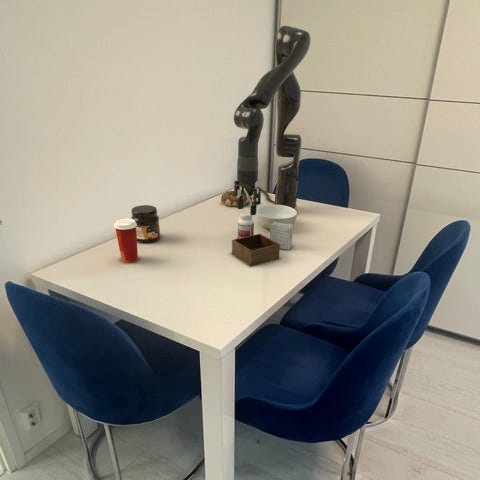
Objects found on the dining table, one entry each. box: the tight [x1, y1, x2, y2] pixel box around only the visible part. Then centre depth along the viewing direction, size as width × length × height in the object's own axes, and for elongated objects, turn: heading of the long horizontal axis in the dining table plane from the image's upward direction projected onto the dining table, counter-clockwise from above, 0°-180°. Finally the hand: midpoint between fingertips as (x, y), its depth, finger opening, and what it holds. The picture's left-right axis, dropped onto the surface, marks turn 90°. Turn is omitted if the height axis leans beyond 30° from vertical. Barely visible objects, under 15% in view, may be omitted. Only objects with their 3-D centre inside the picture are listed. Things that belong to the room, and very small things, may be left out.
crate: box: [231, 233, 281, 267], centre depth 165 cm, size 12×12×6 cm
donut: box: [220, 190, 250, 207], centre depth 218 cm, size 14×14×5 cm
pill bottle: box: [237, 211, 255, 239], centre depth 176 cm, size 6×6×11 cm
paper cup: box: [113, 218, 139, 264], centre depth 159 cm, size 8×8×14 cm
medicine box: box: [268, 222, 294, 251], centre depth 172 cm, size 8×4×9 cm, turn 65°
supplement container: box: [130, 204, 161, 244], centre depth 177 cm, size 10×10×12 cm
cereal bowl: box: [255, 204, 298, 230], centre depth 190 cm, size 17×17×7 cm
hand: (246, 211), depth 173 cm, fingers open, 8 cm apart
